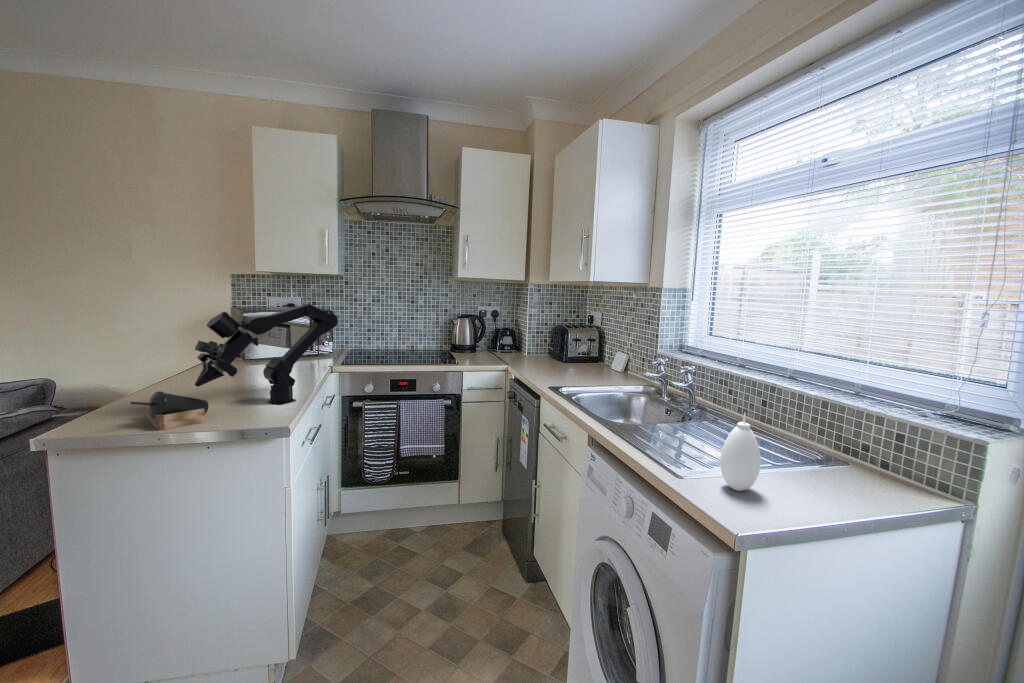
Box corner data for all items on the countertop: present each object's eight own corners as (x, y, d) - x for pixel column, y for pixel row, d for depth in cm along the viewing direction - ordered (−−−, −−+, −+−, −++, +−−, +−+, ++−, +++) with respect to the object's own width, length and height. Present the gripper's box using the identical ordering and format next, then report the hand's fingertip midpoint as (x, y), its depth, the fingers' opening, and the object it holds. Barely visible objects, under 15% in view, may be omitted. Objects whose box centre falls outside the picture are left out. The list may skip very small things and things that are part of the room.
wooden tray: (188, 411, 145) (188, 399, 144) (205, 422, 135) (204, 409, 135) (145, 419, 136) (144, 406, 136) (159, 430, 126) (158, 416, 126)
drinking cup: (212, 393, 141) (141, 386, 123) (211, 417, 139) (138, 414, 121) (195, 397, 144) (123, 391, 126) (194, 421, 142) (121, 418, 124)
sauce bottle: (711, 481, 105) (718, 406, 102) (744, 481, 105) (751, 407, 103) (729, 497, 97) (737, 416, 95) (764, 497, 97) (773, 417, 95)
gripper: (202, 328, 147) (163, 365, 139) (223, 333, 135) (182, 374, 128) (230, 350, 154) (194, 386, 147) (253, 356, 142) (215, 396, 135)
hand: (196, 385), depth 139 cm, fingers closed
